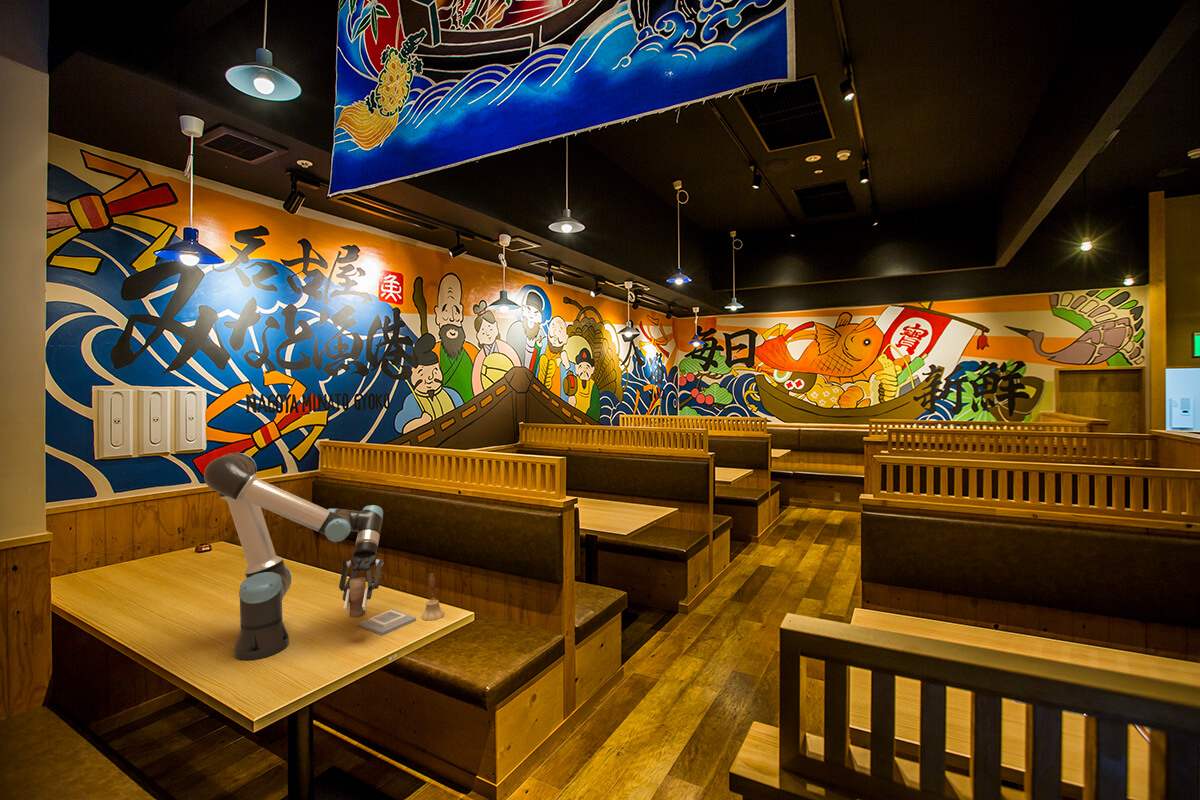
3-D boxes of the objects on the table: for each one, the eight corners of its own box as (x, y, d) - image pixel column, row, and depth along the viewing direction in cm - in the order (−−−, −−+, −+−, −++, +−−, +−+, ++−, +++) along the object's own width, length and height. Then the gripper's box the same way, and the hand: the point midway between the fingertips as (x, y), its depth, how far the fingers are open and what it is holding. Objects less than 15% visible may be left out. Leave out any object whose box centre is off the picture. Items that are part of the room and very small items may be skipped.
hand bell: (431, 622, 192) (430, 579, 192) (416, 617, 197) (415, 574, 196) (449, 614, 199) (448, 572, 199) (434, 609, 204) (433, 568, 203)
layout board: (381, 635, 183) (381, 629, 182) (358, 625, 190) (358, 619, 190) (416, 620, 194) (415, 614, 194) (392, 611, 202) (392, 606, 202)
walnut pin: (354, 619, 176) (354, 583, 175) (346, 615, 178) (346, 580, 178) (368, 614, 180) (368, 579, 180) (360, 610, 182) (360, 576, 182)
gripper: (394, 549, 196) (385, 611, 180) (342, 552, 192) (328, 615, 176) (391, 539, 190) (381, 602, 174) (337, 541, 187) (322, 606, 171)
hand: (354, 609), depth 175 cm, fingers closed on walnut pin, 5 cm apart
